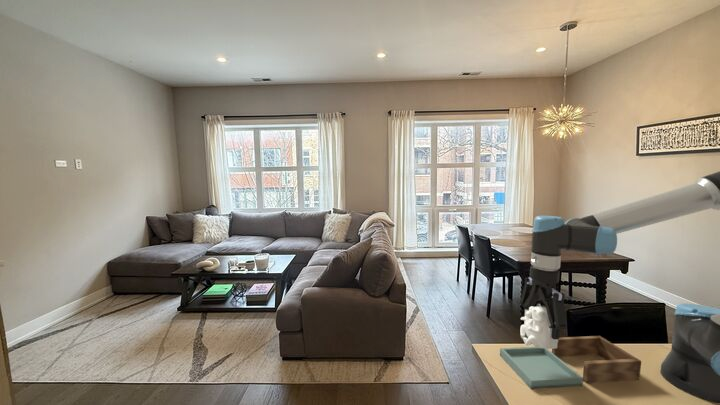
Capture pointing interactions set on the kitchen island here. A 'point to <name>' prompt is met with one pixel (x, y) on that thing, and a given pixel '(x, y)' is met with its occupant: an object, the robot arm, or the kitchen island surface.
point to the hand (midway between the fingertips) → (539, 337)
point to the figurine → (535, 327)
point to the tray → (540, 368)
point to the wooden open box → (608, 370)
